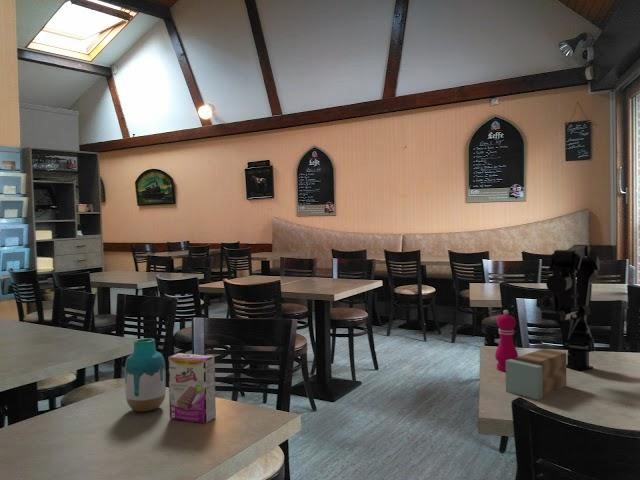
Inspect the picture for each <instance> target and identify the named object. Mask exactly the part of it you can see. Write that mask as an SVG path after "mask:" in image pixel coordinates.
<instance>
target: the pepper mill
mask: <svg viewBox="0 0 640 480" xmlns="http://www.w3.org/2000/svg"><path fill="white" fill-rule="evenodd" d="M496 324H497V327H498V334H499V344H498V346H497V348H496V350H495V354H494V357H495V359H496V361H497V362H496V370H498V371H500V372H505V373H506V360H509V359H513V360H516V357H518V356H519V354H518V351H517V349H516V346H515V344H514V339H513V338H514V334H515V329H514V328H515V327H516V326H517V325H516V324H517V323H516V319H515V317H514V316H513V315H510V311H509V310H508V309H504V310H503V314H501V315H500V314H499V316H498V317H497V319H496Z"/></svg>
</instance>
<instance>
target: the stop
mask: <svg viewBox="0 0 640 480" xmlns="http://www.w3.org/2000/svg"><path fill="white" fill-rule="evenodd" d="M505 392H508V393H512V394H515V395H518V396H521V395H524V396H523V397H525V396H527V397H526V398H528V397H529V399H532V398H534V399H533V400H535V399H537V400H536V401H539V400H542V399H543V398H544V397H543V396H544V395H543V380H542V366H540V365H535V364H531V363H526V362H522V361H517V360H513V359H509V360H506V372H505ZM541 398H542V399H541ZM538 399H539V400H538Z"/></svg>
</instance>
